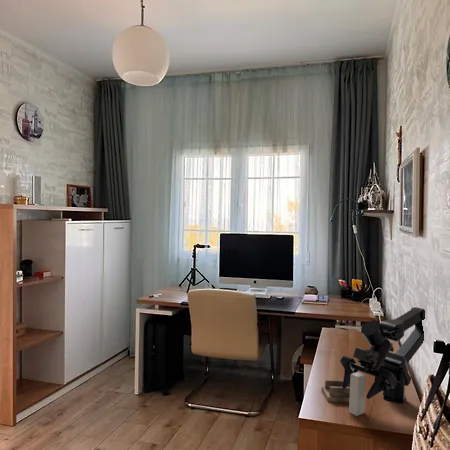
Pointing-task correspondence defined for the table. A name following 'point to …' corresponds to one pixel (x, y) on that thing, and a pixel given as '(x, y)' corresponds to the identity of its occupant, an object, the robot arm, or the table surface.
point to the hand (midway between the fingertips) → (354, 393)
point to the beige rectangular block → (357, 393)
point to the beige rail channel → (336, 391)
